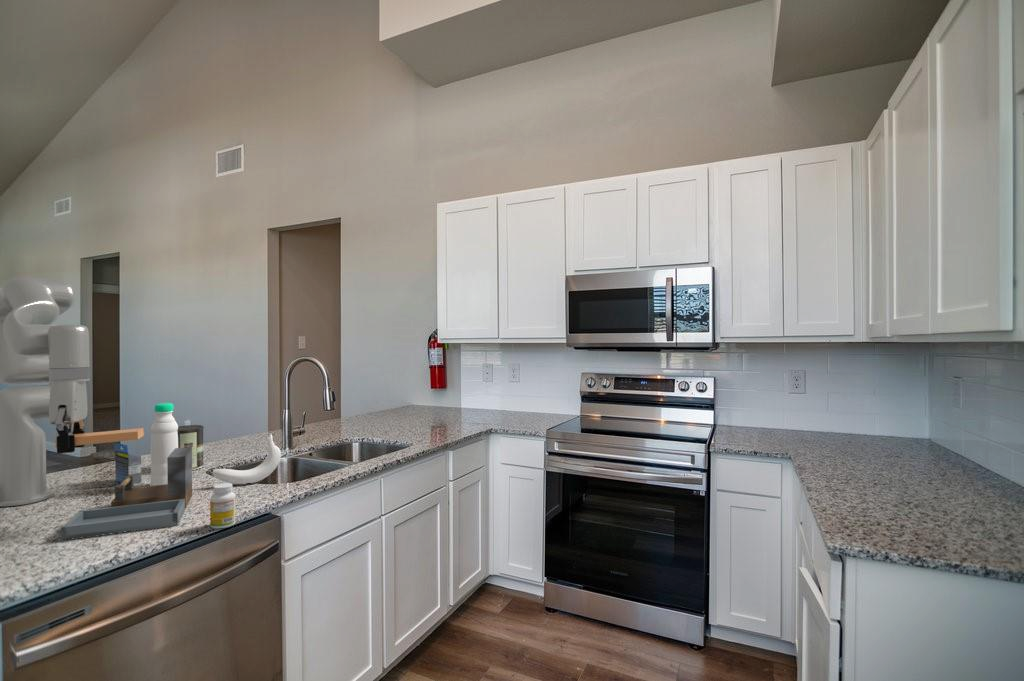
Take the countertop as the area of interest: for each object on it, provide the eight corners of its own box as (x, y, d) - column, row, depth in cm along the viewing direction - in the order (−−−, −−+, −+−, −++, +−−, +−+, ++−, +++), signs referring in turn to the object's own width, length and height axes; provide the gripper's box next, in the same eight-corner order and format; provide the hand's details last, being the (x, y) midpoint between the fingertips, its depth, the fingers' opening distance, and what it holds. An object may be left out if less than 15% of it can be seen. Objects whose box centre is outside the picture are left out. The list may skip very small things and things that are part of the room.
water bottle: (164, 489, 153) (163, 405, 152) (144, 488, 154) (144, 404, 154) (184, 482, 160) (183, 402, 159) (164, 481, 161) (164, 401, 161)
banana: (211, 487, 155) (211, 438, 155) (278, 476, 167) (278, 431, 167) (214, 491, 152) (214, 441, 151) (282, 479, 163) (282, 433, 163)
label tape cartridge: (142, 482, 160) (141, 443, 160) (127, 485, 156) (127, 445, 156) (128, 478, 164) (128, 439, 164) (114, 481, 161) (114, 442, 161)
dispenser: (111, 517, 129) (110, 462, 129) (123, 503, 140) (123, 452, 140) (185, 508, 136) (185, 456, 136) (192, 495, 147) (191, 446, 147)
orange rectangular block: (55, 447, 121) (55, 439, 121) (65, 443, 126) (65, 435, 126) (138, 439, 127) (137, 431, 127) (143, 435, 133) (143, 427, 133)
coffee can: (191, 463, 183) (190, 424, 183) (210, 466, 179) (210, 426, 179) (161, 470, 174) (161, 428, 173) (181, 474, 169) (180, 431, 169)
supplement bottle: (217, 521, 127) (216, 482, 127) (239, 520, 128) (239, 481, 128) (205, 529, 122) (205, 488, 122) (229, 528, 123) (229, 488, 122)
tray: (61, 540, 115) (61, 527, 115) (79, 522, 126) (79, 510, 126) (177, 525, 124) (177, 513, 124) (185, 509, 135) (185, 498, 135)
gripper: (63, 374, 131) (65, 445, 131) (34, 378, 115) (35, 458, 115) (100, 373, 134) (101, 442, 134) (76, 376, 118) (78, 455, 118)
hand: (71, 449), depth 124 cm, fingers closed on orange rectangular block, 5 cm apart
